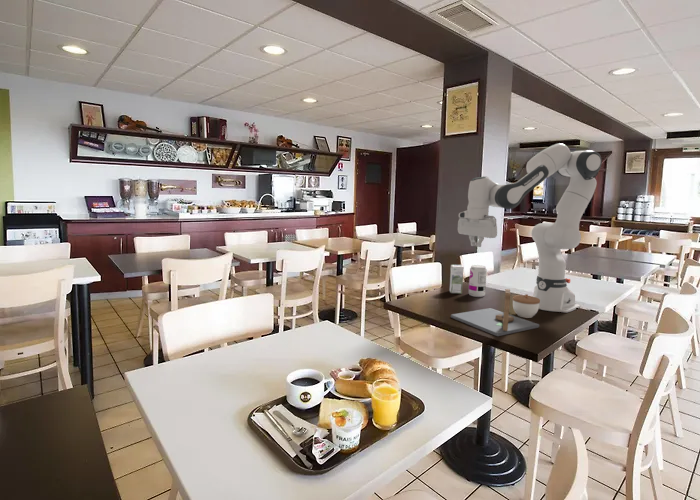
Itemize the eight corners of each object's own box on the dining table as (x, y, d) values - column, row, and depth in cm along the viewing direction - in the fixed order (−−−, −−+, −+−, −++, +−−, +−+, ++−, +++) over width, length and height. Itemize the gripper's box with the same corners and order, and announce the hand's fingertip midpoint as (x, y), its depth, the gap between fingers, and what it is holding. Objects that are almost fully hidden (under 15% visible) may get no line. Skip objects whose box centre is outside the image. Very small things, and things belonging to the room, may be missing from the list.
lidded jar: (543, 316, 175) (544, 295, 174) (531, 321, 168) (533, 299, 167) (518, 310, 183) (520, 290, 182) (506, 315, 176) (508, 294, 175)
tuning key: (495, 315, 170) (497, 281, 168) (513, 317, 168) (516, 283, 166) (495, 329, 153) (497, 291, 151) (515, 331, 150) (518, 293, 148)
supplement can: (468, 296, 207) (470, 267, 205) (468, 292, 215) (470, 264, 213) (485, 297, 205) (487, 268, 202) (484, 293, 212) (486, 265, 210)
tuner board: (490, 310, 183) (490, 304, 182) (538, 327, 161) (539, 320, 160) (450, 317, 172) (451, 310, 171) (497, 336, 150) (497, 328, 150)
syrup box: (460, 291, 217) (461, 264, 215) (462, 294, 212) (463, 266, 209) (449, 290, 218) (450, 264, 216) (450, 293, 212) (452, 266, 210)
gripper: (501, 215, 169) (499, 248, 171) (466, 213, 187) (464, 243, 189) (490, 216, 166) (488, 249, 168) (455, 213, 184) (454, 243, 186)
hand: (475, 246), depth 179 cm, fingers closed
